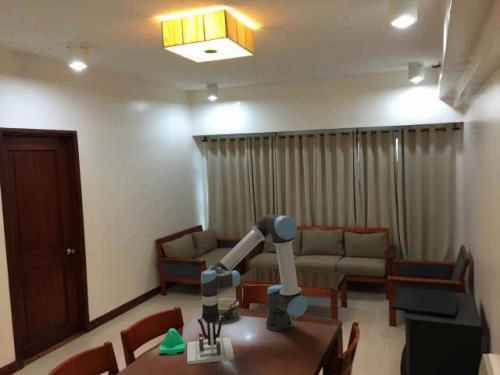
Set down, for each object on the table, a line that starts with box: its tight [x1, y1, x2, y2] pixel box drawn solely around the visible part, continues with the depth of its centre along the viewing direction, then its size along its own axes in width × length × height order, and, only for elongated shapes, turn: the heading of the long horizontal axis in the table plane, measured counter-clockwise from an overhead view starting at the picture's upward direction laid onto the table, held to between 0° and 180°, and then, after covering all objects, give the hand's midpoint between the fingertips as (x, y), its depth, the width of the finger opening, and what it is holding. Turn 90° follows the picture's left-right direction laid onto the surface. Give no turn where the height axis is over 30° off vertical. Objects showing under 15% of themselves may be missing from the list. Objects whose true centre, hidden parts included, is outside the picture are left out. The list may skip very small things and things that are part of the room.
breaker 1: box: [198, 336, 204, 350], centre depth 209 cm, size 2×3×5 cm
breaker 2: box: [216, 341, 221, 354], centre depth 203 cm, size 2×3×5 cm
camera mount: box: [159, 327, 186, 356], centre depth 213 cm, size 12×8×10 cm, turn 95°
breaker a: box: [198, 331, 204, 338], centre depth 216 cm, size 2×3×5 cm
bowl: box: [217, 297, 240, 320], centre depth 255 cm, size 18×18×10 cm
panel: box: [186, 337, 235, 366], centre depth 209 cm, size 22×22×2 cm
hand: (212, 351), depth 203 cm, fingers closed
